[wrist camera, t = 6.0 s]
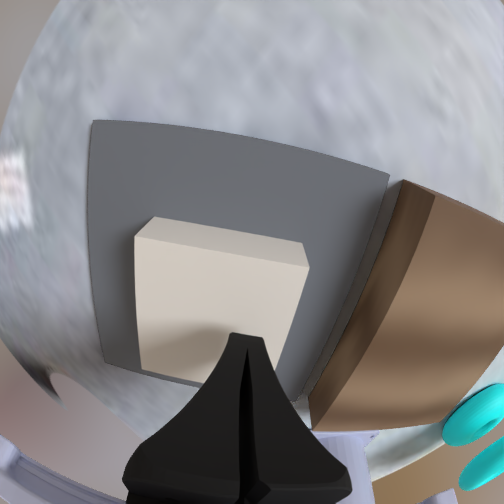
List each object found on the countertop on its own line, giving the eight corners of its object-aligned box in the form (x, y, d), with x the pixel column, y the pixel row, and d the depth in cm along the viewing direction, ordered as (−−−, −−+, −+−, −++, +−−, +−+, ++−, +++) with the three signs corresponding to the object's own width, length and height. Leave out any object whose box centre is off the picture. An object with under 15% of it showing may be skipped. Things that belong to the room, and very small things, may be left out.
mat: (295, 397, 19) (295, 401, 18) (106, 358, 18) (104, 362, 18) (386, 173, 12) (389, 174, 12) (97, 119, 11) (92, 120, 11)
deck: (429, 397, 20) (440, 421, 17) (308, 398, 19) (312, 431, 16) (525, 235, 13) (551, 253, 10) (403, 179, 12) (435, 195, 9)
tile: (266, 362, 17) (266, 392, 15) (153, 341, 16) (141, 368, 14) (302, 243, 13) (309, 267, 11) (154, 216, 13) (134, 236, 11)
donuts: (542, 434, 10) (536, 446, 12) (502, 366, 19) (508, 392, 21) (453, 496, 13) (469, 494, 16) (429, 423, 22) (449, 437, 25)
